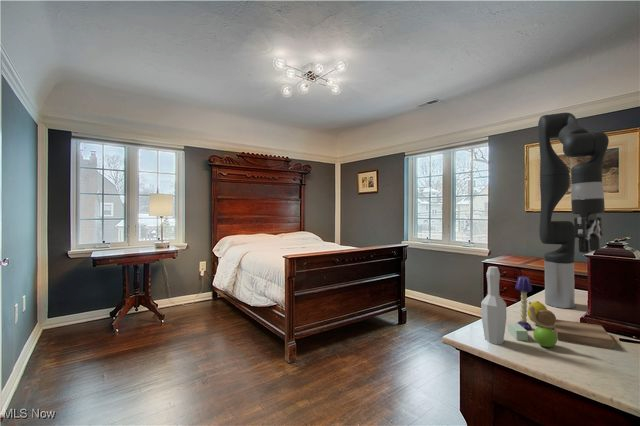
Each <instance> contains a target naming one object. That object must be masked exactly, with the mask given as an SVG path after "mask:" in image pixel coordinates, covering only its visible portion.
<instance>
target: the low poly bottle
mask: <svg viewBox="0 0 640 426" xmlns="http://www.w3.org/2000/svg"><path fill="white" fill-rule="evenodd" d="M500 278H501V273H500V270H499V267H497V266H488V268H487V271H486V282H487V295H486V296H485V297H484V298H483V299H482V301H480V302H481V303H480V305H481V306H480V308H481V309H480V310H481V312H480V313H481V315H480V316H481V321H482V329H483V334H484V335H483V336H484V341H486V340H487V341H486V342H487V343H489V342H490V343H491V344H493V343H494V345H502V344H503V343H504V341H505V334H506V333H505V332H506V325H507V302H505V300H504V299H503V298H502V297H501V296H500ZM490 343H489V344H490Z"/></svg>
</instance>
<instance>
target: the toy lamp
mask: <svg viewBox="0 0 640 426" xmlns="http://www.w3.org/2000/svg"><path fill="white" fill-rule="evenodd" d="M514 287H515V288H514V289H515V290H517V291H520V294H521V295H520V321H518V322H516V323H517V324H519V325H521V326H522V327H523V328H524V329H526V330H527V331H531V330H532V325H531V323H529V322H527V321H528V318H527V316H528V300H527V299H528V296H527V294H528V292H532V291H533V286H532V283H531V280H530V277H527V276H524V275H523V276H518V277H517V280H516V283H515V286H514Z"/></svg>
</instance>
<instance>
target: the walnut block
mask: <svg viewBox="0 0 640 426" xmlns="http://www.w3.org/2000/svg"><path fill="white" fill-rule="evenodd" d="M553 325H556V327H554V328H552V330H553V331H554V332H555V333H556V335H557V342H558V341H559V342H565V343H571V344H577V345H584V346H590V347H595V348H602V349H607V350H614V340H613V338H612V337H611V336H610V334H609V333H608V332H607V331H606V330H605V328H604V327H603V325H601V324H596V323H595V324H594V323H586V322H578V321H570V320H563V319H558V318H556V322H555V323H554V324H553Z"/></svg>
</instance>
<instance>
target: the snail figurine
mask: <svg viewBox="0 0 640 426" xmlns="http://www.w3.org/2000/svg"><path fill="white" fill-rule="evenodd" d="M531 303H532V302H531V301H528V305H530V304H531ZM528 307H529V306H528ZM529 310H530V313H531V316H532V319H533V321H534V322H535V323H534V322H533V321H532V322H533V323H534V324H535V325H536V324H537V325H536V326H538V327H536V328H535V329H534V331H533V339H534V340H535V341H536V343H538V345H540V346H542V347H543V348H544V347H545V348H552V347H553V346H556V344H557V342H558V339H557V335H556V333H555V332H554V329H553V328H554V327H556V325H553V324H554V323H555V322H556V319H557V317H556V315H555V314H554V312H552V311H551V310H548V309H547V310H540V311H538V312H537V314H535V308H534V307H533V306H530V307H529Z"/></svg>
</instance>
